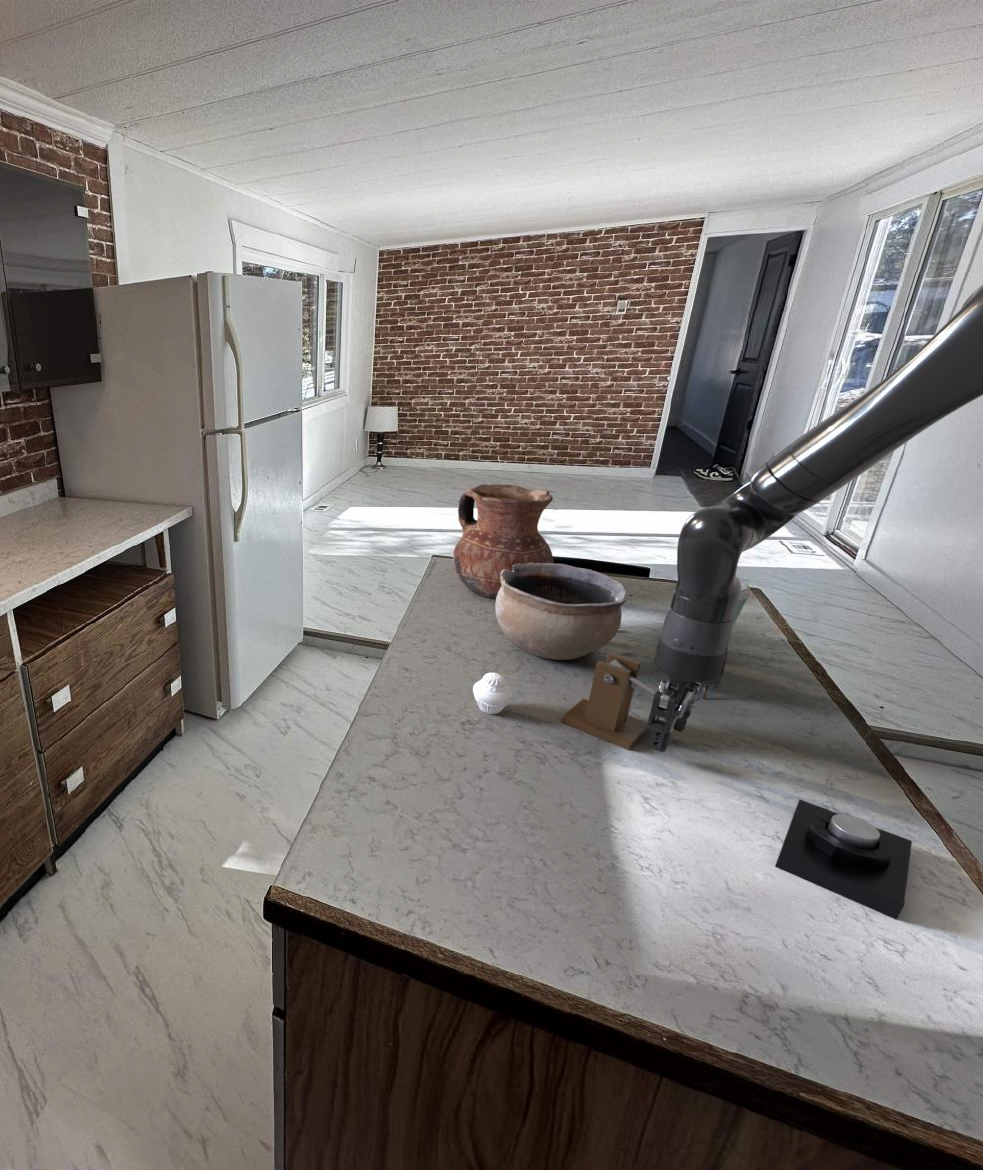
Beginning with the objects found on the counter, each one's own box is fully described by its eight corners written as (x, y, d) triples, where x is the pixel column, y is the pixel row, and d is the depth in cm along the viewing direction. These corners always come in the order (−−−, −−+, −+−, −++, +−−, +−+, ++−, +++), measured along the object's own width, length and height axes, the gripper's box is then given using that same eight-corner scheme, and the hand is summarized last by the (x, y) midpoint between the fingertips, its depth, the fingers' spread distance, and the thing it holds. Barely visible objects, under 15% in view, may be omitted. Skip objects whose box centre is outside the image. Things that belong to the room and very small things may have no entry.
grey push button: (829, 820, 76) (834, 809, 75) (876, 838, 73) (881, 826, 72) (824, 837, 73) (829, 826, 72) (872, 856, 70) (878, 844, 70)
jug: (545, 579, 158) (561, 482, 148) (550, 612, 140) (569, 504, 131) (452, 570, 167) (462, 478, 157) (446, 600, 149) (457, 498, 140)
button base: (794, 812, 82) (803, 787, 80) (905, 854, 75) (917, 829, 73) (774, 866, 74) (785, 840, 72) (896, 920, 67) (910, 892, 65)
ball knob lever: (685, 720, 93) (698, 706, 91) (678, 729, 91) (691, 714, 89) (606, 670, 100) (617, 656, 98) (598, 677, 98) (609, 663, 96)
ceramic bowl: (492, 619, 139) (501, 555, 133) (606, 634, 129) (621, 567, 124) (487, 665, 120) (497, 593, 115) (619, 686, 111) (637, 610, 105)
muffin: (488, 696, 110) (493, 661, 108) (517, 713, 105) (523, 677, 103) (462, 705, 108) (467, 670, 105) (491, 723, 103) (497, 687, 100)
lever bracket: (648, 729, 99) (666, 665, 95) (628, 750, 95) (646, 683, 90) (582, 704, 107) (595, 643, 102) (560, 722, 102) (573, 659, 98)
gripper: (708, 668, 81) (678, 771, 87) (741, 634, 89) (711, 730, 95) (643, 648, 86) (618, 746, 93) (679, 618, 95) (654, 710, 101)
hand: (665, 738), depth 94 cm, fingers open, 7 cm apart
